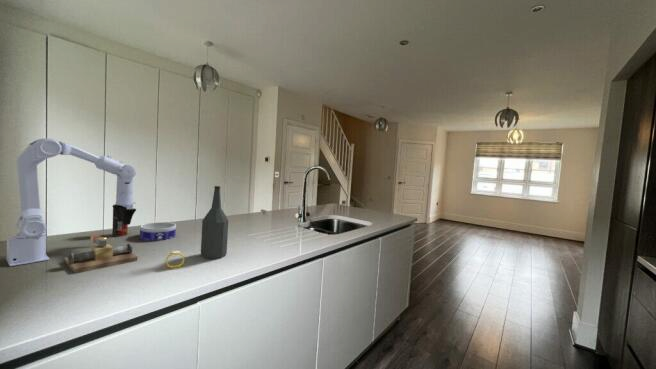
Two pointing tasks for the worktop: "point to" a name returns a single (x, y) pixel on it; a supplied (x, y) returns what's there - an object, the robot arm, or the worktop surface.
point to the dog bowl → (157, 231)
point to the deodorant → (118, 226)
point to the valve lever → (98, 239)
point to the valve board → (101, 262)
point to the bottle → (214, 230)
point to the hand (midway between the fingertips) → (123, 222)
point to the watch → (174, 254)
